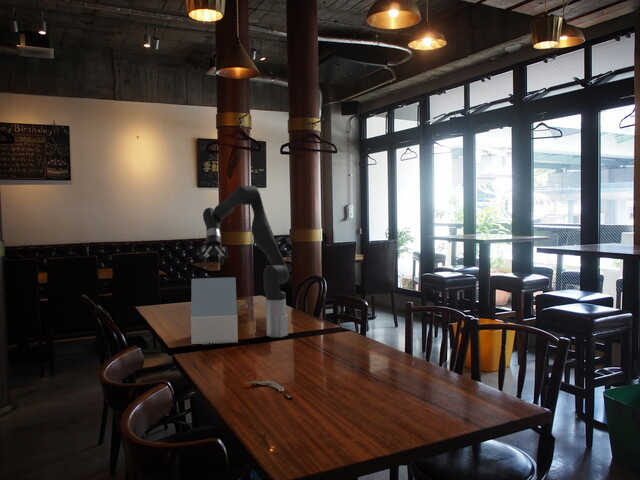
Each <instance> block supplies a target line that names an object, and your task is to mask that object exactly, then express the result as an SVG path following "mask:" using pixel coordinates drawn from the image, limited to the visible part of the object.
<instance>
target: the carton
mask: <svg viewBox="0 0 640 480" xmlns="http://www.w3.org/2000/svg"><path fill="white" fill-rule="evenodd" d="M238 324H239V323H238V316H237V315H231V316H211V317H191V316H190V330H191V331H190V332H191V334H190V335H191V337H190V338H191V339H190V340H191V343H190V344H191V345H192V344H202V345H214V344H215V345H216V344H217V345H218V344H230V343H231V344H235V343H236V344H237V343H238V342H239V340H238V339H239V337H238V336H239V334H238V326H239V325H238ZM209 343H210V344H209ZM212 343H213V344H212Z"/></svg>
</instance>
